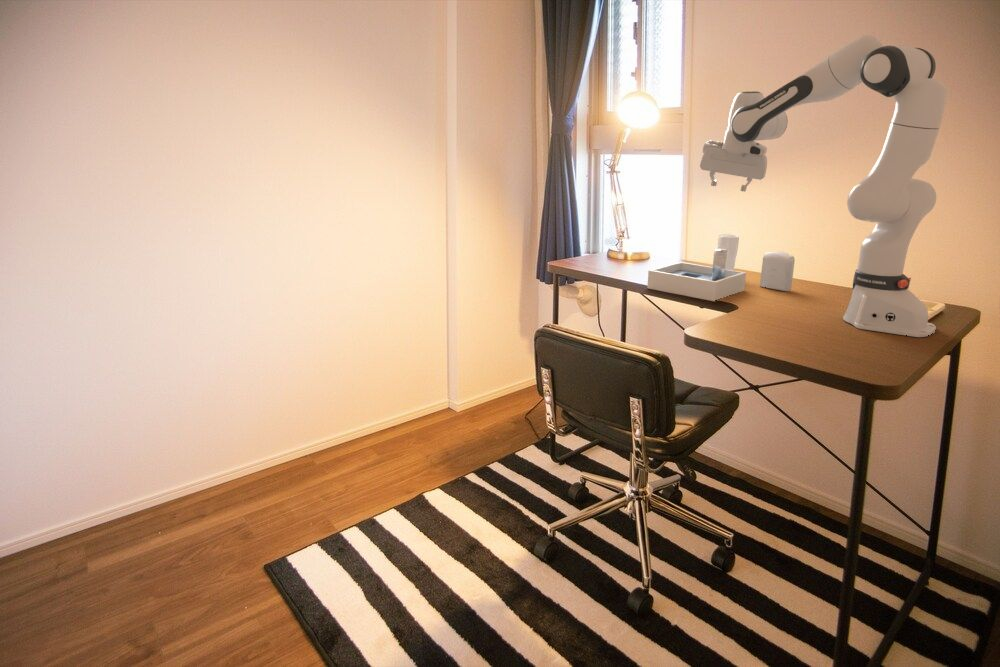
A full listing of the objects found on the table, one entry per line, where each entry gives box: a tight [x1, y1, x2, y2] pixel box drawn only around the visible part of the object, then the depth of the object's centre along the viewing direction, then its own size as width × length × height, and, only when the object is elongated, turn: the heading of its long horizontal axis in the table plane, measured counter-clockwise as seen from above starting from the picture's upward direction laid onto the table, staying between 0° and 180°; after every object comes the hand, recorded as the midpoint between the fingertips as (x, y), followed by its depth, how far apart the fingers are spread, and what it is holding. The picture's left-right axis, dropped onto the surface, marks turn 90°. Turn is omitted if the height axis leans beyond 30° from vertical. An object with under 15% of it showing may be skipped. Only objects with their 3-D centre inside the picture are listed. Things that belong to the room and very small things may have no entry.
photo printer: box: [759, 250, 796, 292], centre depth 234 cm, size 10×4×12 cm, turn 39°
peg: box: [712, 248, 727, 281], centre depth 229 cm, size 4×4×10 cm
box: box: [646, 261, 747, 302], centre depth 233 cm, size 24×20×6 cm
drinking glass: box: [716, 233, 740, 271], centre depth 247 cm, size 7×7×15 cm
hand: (728, 188), depth 230 cm, fingers open, 8 cm apart
